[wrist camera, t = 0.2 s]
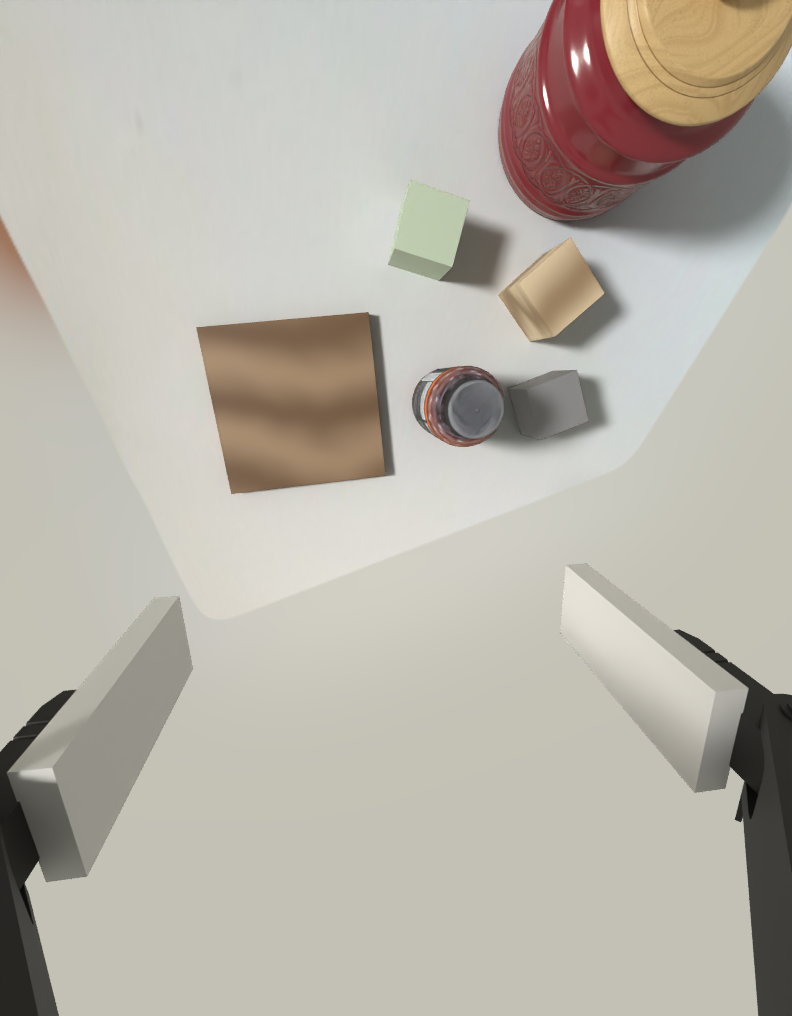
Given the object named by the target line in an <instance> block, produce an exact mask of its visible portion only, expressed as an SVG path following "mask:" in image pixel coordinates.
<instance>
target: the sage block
mask: <svg viewBox="0 0 792 1016" xmlns="http://www.w3.org/2000/svg"><path fill="white" fill-rule="evenodd" d="M469 202H470V201H469V200H466V199H463V198H461V197H458V196H455V195H452V194H449V193H447V192H444V191H441V190H438V189H435V188H432V187H430V186H427V185H424V184H421V183H418V182H416V181H413V180H410V182H409V185H408V188H407V191H406V194H405V197H404V200H403V203H402V206H401V210H400V214H399V219H398V223H397V227H396V232H395V236H394V241H393V245H392V249H391V254H390V258H389V262H388V265H391V266H394V267H397V268H400V269H403V270H406V271H410V272H413V273H416V274H419V275H422V276H425V277H428V278H432V279H435V280H438V281H439V280H440V279H441V278H442V277H443V276H444V275H445V274H446V273H447V272H448V271H449V270H450V269H451V268H452V266H453V263H454V259H455V255H456V251H457V247H458V244H459V240H460V236H461V232H462V228H463V224H464V221H465V217H466V213H467V209H468V205H469Z"/></svg>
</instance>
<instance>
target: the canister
mask: <svg viewBox="0 0 792 1016" xmlns="http://www.w3.org/2000/svg"><path fill="white" fill-rule="evenodd" d="M791 46H792V0H553V2H552V4H551V6H550V8H549V11H548V14H547V16H546V19H545V21H544V22H543V24H542V26H541V28H540V29H539V31H538V33H537V35H536V36H535V38H534V39H533V40H532V41H531V43H530V44H529V45H528V47H527V48H526V49H525V51H524V53H523V54H522V56H521V58H520V59H519V61H518V63H517V65H516V67H515V69H514V71H513V73H512V75H511V77H510V80H509V82H508V85H507V88H506V92H505V95H504V99H503V104H502V108H501V113H500V119H499V130H498V139H499V151H500V157H501V161H502V165H503V168H504V171H505V174H506V176H507V179H508V181H509V183H510V185H511V186H512V188H513V190H514V191H515V193H516V194H517V195H518V197H519V198H520V199H521V200H522V201H523V202H524V203H525V204H526V205H527V206H528V207H529V208H531V209H532V210H533V211H535V212H536V213H538V214H540V215H542V216H544V217H547V218H550V219H553V220H558V221H576V220H581V219H587V218H591V217H595V216H597V215H600V214H602V213H604V212H606V211H608V210H610V209H612V208H613V207H615V206H617V205H618V204H620V203H621V202H623V201H624V200H625V199H626V198H628V197H629V196H630V195H631V194H632V193H633V192H634V191H636V190H637V189H639V188H640V187H642V186H644V185H645V184H647V183H648V182H650V181H652V180H655V179H657V178H659V177H662V176H663V175H665V174H667V173H669V172H670V171H672V170H673V169H675V168H676V167H677V166H679V165H680V164H681V163H682V162H684V161H685V160H686V159H687V158H690V157H693V156H695V155H697V154H699V153H701V152H703V151H704V150H706V149H708V148H709V147H711V146H712V145H714V144H715V143H717V142H718V141H719V140H720V139H722V138H723V137H724V136H725V135H726V134H727V133H728V132H729V131H730V130H731V129H732V128H733V127H734V126H735V125H736V124H737V123H738V121H739V120H740V119H741V118H742V117H743V115H744V114H745V113H746V111H747V110H748V109H749V107H750V106H751V104H752V103H753V101H754V99H755V98H756V96H757V95H758V94H759V93H760V92H761V91H762V90H763V89H764V88H765V87H766V85H767V84H768V83H769V82H770V81H771V79H772V78H773V77H774V75H775V74H776V72H777V71H778V69H779V68H780V66H781V65H782V63H783V61H784V60H785V58H786V56H787V54H788V52H789V50H790V48H791Z"/></svg>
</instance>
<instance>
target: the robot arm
mask: <svg viewBox="0 0 792 1016" xmlns="http://www.w3.org/2000/svg"><path fill="white" fill-rule="evenodd" d="M560 634H561V635H562V636H563V637H564V639H565V640H566V641H567V642H568V643H569V645H570V646H571V647H572V648H573V649H574V650H575V651H576V653H577V654H578V655H579V656H580V657H581V659H582V660H583V661H584V662H585V664H586V665H587V666H588V667H589V668H590V669H591V671H592V672H593V673H594V674H595V675H596V676H597V678H598V679H599V680H600V681H601V682H602V683H603V685H604V686H605V687H606V688H607V690H608V691H609V692H610V693H611V694H612V695H613V697H614V698H615V699H616V700H617V701H618V703H619V704H620V705H621V706H622V707H623V709H624V710H625V711H626V712H627V713H628V714H629V716H630V717H631V718H632V719H633V720H634V722H635V723H636V724H637V725H638V726H639V727H640V729H641V730H642V731H643V732H644V733H645V734H646V736H647V737H648V738H649V739H650V740H651V742H652V743H653V744H654V745H655V746H656V747H657V749H658V750H659V751H660V752H661V753H662V755H663V756H664V757H665V758H666V759H667V761H668V762H669V763H670V764H671V765H672V767H673V768H674V769H675V770H676V771H677V772H678V774H679V775H680V776H681V777H682V778H683V779H684V781H685V782H686V783H687V784H688V785H689V787H690V788H691V789H692V790H693V791H694V792H695V793H696V792H703V791H711V790H717V789H725V787H726V783H727V779H728V775H729V770H730V767H731V768H732V769H733V770H734V771H735V772H736V773H737V774H738V775H739V776H740V777H741V778H742V779H743V780H744V781H745V782H744V785H743V789H742V793H741V798H740V801H739V805H738V810H737V814H736V817H735V820H737V821H739V822H741V821H742V818H743V822H744V834H745V848H746V861H747V874H748V887H749V900H750V912H751V926H752V939H753V952H754V965H755V978H756V991H757V1003H758V1016H792V695H787V694H773V693H772V692H770V691H769V690H768V689H766V688H765V687H763V686H762V685H761V684H759V683H758V682H757V681H756V680H754V679H753V678H751V677H750V676H749V675H747V674H746V673H745V672H743V671H742V670H741V669H739V668H738V667H737V666H735V665H734V664H732V663H731V662H730V663H729V662H728V661H727V659H726V658H724V657H723V656H722V655H720V654H719V653H715V651H714V650H713V649H712V648H711V647H709V646H708V645H707V644H705V643H704V642H702V641H701V640H700V639H698V638H696V637H694V636H692V635H690V634H687V633H685V632H683V631H681V630H672V629H671V628H669V627H668V626H667V625H666V624H664V623H663V622H662V621H661V620H659V619H658V618H657V617H655V616H654V615H653V614H651V613H650V612H649V611H648V610H646V609H645V608H644V607H642V606H641V605H640V604H638V603H637V602H636V601H634V600H633V599H632V598H630V597H629V596H628V595H627V594H625V593H624V592H623V591H621V590H620V589H619V588H618V587H616V586H615V585H614V584H612V583H611V582H610V581H609V580H607V579H606V578H605V577H603V576H602V575H601V574H599V573H598V572H597V571H596V570H594V569H593V568H592V567H590V566H589V565H588V564H575V565H566V571H565V582H564V594H563V606H562V618H561V629H560ZM192 670H193V667H192V661H191V656H190V651H189V645H188V640H187V635H186V630H185V624H184V619H183V614H182V609H181V603H180V598H179V596H172V597H161V598H154V599H153V600H152V601H151V603H150V604H149V605H148V606H147V607H146V608H145V610H144V611H143V612H142V613H141V615H140V616H139V617H138V618H137V619H136V620H135V621H134V623H133V624H132V625H131V626H130V627H129V629H128V630H127V631H126V632H125V633H124V634H123V636H122V637H121V638H120V639H119V640H118V642H117V643H116V644H115V645H114V646H113V648H112V649H111V650H110V651H109V652H108V654H107V655H106V656H105V657H104V658H103V659H102V661H101V662H100V663H99V664H98V665H97V667H96V668H95V669H94V670H93V671H92V672H91V674H90V675H89V676H88V677H87V678H86V679H85V681H84V682H83V683H82V684H81V686H80V687H79V688H78V689H77V690H68V691H63V692H61V693H60V694H58V695H57V696H56V697H54V698H53V699H51V700H50V701H49V702H47V703H46V704H44V705H43V706H41V708H40V709H39V710H38V711H37V712H36V713H35V714H34V715H33V716H32V718H31V719H30V720H29V721H28V722H27V724H26V726H24V727H23V728H22V729H21V730H20V731H19V732H18V733H17V734H16V735H15V736H14V739H13V741H10V742H9V743H8V744H7V745H6V746H5V747H4V748H3V749H2V751H1V752H0V1016H59V1014H58V1011H57V1006H56V1002H55V998H54V994H53V990H52V986H51V983H50V978H49V974H48V970H47V966H46V962H45V958H44V954H43V950H42V946H41V942H40V938H39V934H38V929H37V926H36V921H35V917H34V913H33V909H32V905H31V901H30V897H29V894H28V891H27V888H26V886H25V881H26V880H27V878H28V876H29V875H30V873H31V872H32V870H33V868H34V867H35V865H36V864H37V862H38V861H39V864H40V866H41V869H42V872H43V875H44V878H45V880H46V882H50V881H58V880H65V879H72V878H79V877H86V876H88V874H89V872H90V870H91V868H92V866H93V864H94V862H95V860H96V858H97V856H98V854H99V852H100V850H101V848H102V846H103V844H104V842H105V840H106V838H107V836H108V834H109V833H110V830H111V829H112V826H113V825H114V823H115V821H116V819H117V816H118V815H119V813H120V811H121V809H122V807H123V805H124V803H125V801H126V799H127V797H128V795H129V793H130V791H131V789H132V787H133V785H134V783H135V781H136V779H137V777H138V776H139V774H140V772H141V770H142V768H143V766H144V764H145V762H146V760H147V758H148V756H149V754H150V752H151V750H152V748H153V746H154V744H155V742H156V740H157V738H158V736H159V734H160V732H161V730H162V728H163V726H164V724H165V722H166V720H167V719H168V716H169V715H170V713H171V711H172V709H173V707H174V705H175V703H176V701H177V699H178V697H179V695H180V693H181V691H182V689H183V687H184V685H185V683H186V681H187V679H188V677H189V675H190V673H191V671H192Z"/></svg>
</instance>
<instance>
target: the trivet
mask: <svg viewBox="0 0 792 1016" xmlns="http://www.w3.org/2000/svg"><path fill="white" fill-rule="evenodd" d="M196 328H197V333H198V337H199V342H200V347H201V352H202V356H203V361H204V366H205V371H206V375H207V380H208V385H209V390H210V394H211V399H212V404H213V409H214V413H215V418H216V423H217V428H218V432H219V437H220V442H221V447H222V451H223V456H224V461H225V466H226V470H227V475H228V480H229V485H230V489H231V494H235V493H243V492H252V491H260V490H268V489H277V488H285V487H294V486H302V485H310V484H319V483H327V482H336V481H344V480H352V479H361V478H369V477H378V476H386V475H385V465H384V456H383V446H382V437H381V427H380V418H379V408H378V398H377V389H376V379H375V370H374V360H373V351H372V341H371V331H370V322H369V312H366V313H355V314H344V315H332V316H321V317H310V318H298V319H287V320H276V321H264V322H253V323H242V324H230V325H219V326H207V327H196Z"/></svg>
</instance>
